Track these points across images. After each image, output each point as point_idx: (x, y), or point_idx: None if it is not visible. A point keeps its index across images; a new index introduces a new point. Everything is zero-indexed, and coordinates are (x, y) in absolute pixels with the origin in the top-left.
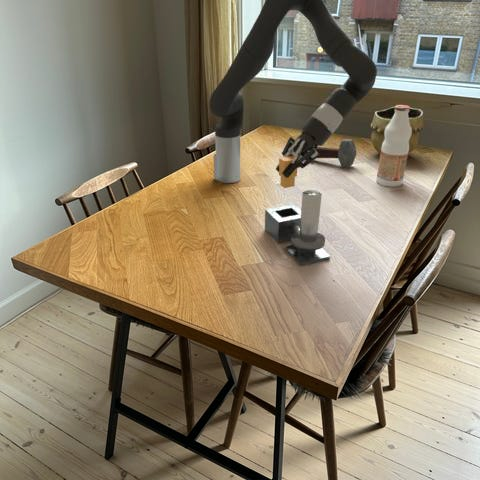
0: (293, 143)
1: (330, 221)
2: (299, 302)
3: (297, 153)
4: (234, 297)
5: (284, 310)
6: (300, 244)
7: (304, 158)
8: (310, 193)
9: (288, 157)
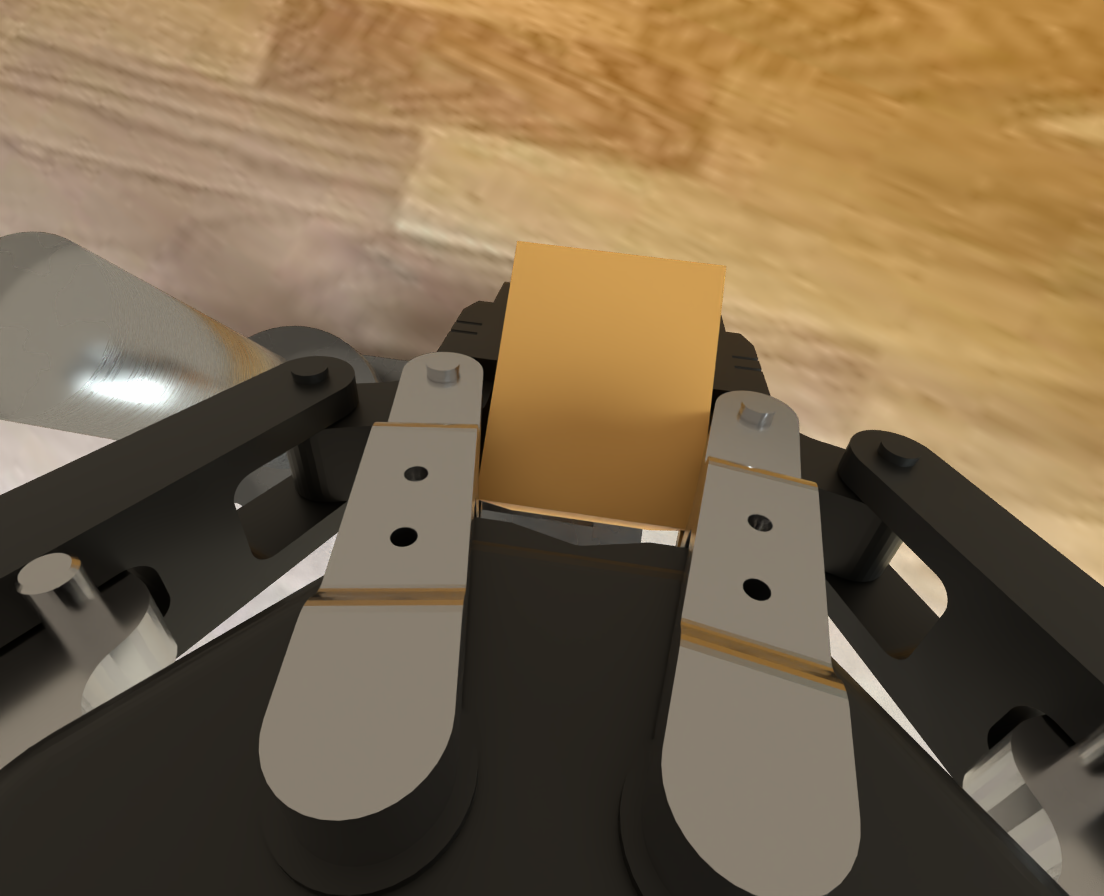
0: (1028, 776)
1: None
2: (92, 197)
3: (390, 431)
4: (256, 14)
5: (91, 126)
6: (260, 340)
7: (150, 431)
8: (36, 317)
9: (650, 415)
